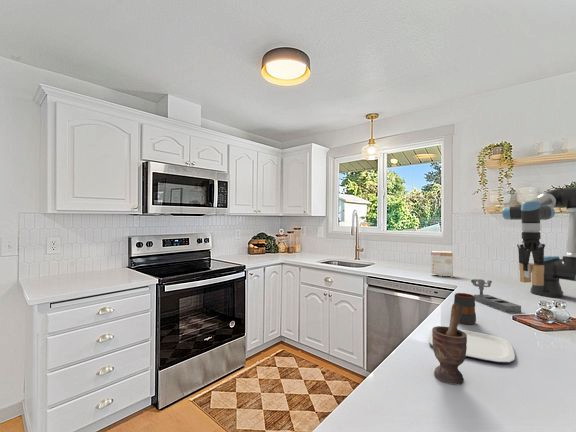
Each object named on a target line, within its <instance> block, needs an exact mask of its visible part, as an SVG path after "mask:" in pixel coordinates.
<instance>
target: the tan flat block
mask: <svg viewBox="0 0 576 432" xmlns="http://www.w3.org/2000/svg"><path fill="white" fill-rule="evenodd" d="M518 264H519V281H520V282H521V283H524V284H525V283H531V286H532V285H536V286H542V285H544V265H539V264H534V262H533V263H531V262H529V264H528V265H530V278H527V277H524V271H523V264H521V263H519V262H518Z"/></svg>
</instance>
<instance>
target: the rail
mask: <svg viewBox="0 0 576 432" xmlns="http://www.w3.org/2000/svg"><path fill="white" fill-rule="evenodd" d="M473 296H474V297H475V302H478V303H480V304H484V305H486V306H488V307H491V308H494V309H496V310H498V311H502V312H504V313H522V305H519V304H516V303H513V302H511V301H508V300H505V299H503V298H502V299H501V298H499V297H496V296H494V295H493V296H492V295H490V294H483V295H480V294H473Z"/></svg>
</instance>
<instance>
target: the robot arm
mask: <svg viewBox="0 0 576 432" xmlns="http://www.w3.org/2000/svg"><path fill="white" fill-rule="evenodd" d="M554 208H565V209H566V211H567V212H568V214H569V217H568V229H567V230H568V231H567V240H566V241H567V242H566V253H565V254H563V255H562V258H560V256H559V255H558V256H557V255H547V256H545V246H546V244H545V243H541V242H540V240H541V237H542V236H541V235H542V233H541V232H540V231H541V230H542V229H541V221H547V220H551V219H552V218H554V217H555V215H556V210H555V209H554ZM501 211H502V212H501V216H502V218H503V219H505V220H507V221H508V220H511V221H512V220H513V221H515V220H520V221H521V239H522V242H521V243H518V244H517V245H516V246H517V249H518V264H519V263H521V264H523V271H524V277H527V278H530V265H528V264H529V263H530V257H531V255H532V259H533V264H539V265H544V285H542V286H536V285H532V284H531V287H530V289H529V291H530V293H531V294H534V295H537V296H542V297H550V298H563V297H564V291H563V290H562V286H561V283H560V280H565V281H572V282H576V186H574V187H562V188H561V187H560V188H555V189H552V190H549V191H546V192H544V193H541V194H540V195H538V196H537V197H535V198H533V199H530V200H527V201H523V202H521V203H519V204H517V205H514V206H512V205H511V206H505V207H503V209H502V210H501Z"/></svg>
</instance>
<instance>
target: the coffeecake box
mask: <svg viewBox="0 0 576 432" xmlns="http://www.w3.org/2000/svg"><path fill="white" fill-rule="evenodd" d="M430 255H431V256H430V257H431V259H430V261H431V262H430V264H431V265H430V266H431V267H430V268H431V269H430V272H431V273H430V275H431V274H436V275H444V276H453V274H454V273H453V272H454V257H453V256H454V253H453V251H442V250H441V251H440V250H432V251H431V253H430Z"/></svg>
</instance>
